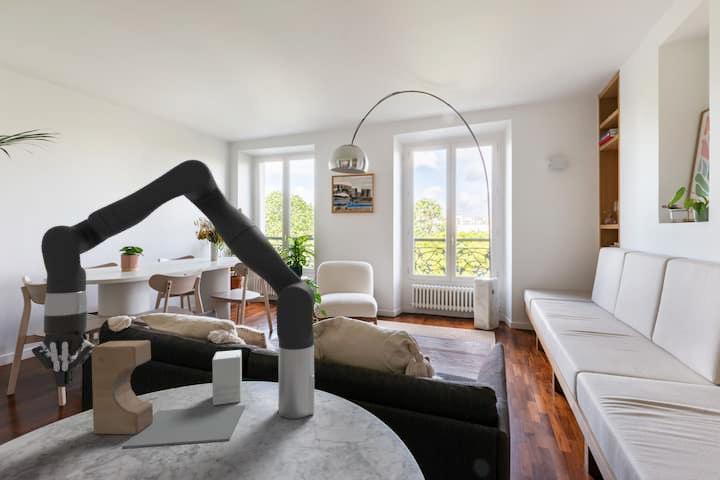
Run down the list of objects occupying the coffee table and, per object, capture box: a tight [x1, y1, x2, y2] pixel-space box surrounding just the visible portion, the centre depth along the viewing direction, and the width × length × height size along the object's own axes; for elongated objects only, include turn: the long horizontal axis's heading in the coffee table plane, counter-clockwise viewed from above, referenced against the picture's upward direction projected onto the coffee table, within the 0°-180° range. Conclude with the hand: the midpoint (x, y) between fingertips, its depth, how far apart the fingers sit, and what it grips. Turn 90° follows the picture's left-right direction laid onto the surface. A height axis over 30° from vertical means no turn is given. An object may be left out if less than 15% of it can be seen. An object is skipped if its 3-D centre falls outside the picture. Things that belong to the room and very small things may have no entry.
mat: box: [122, 404, 246, 449], centre depth 81 cm, size 22×16×1 cm
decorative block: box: [91, 339, 154, 435], centre depth 79 cm, size 11×6×20 cm, turn 84°
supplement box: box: [211, 349, 243, 406], centre depth 96 cm, size 7×7×13 cm
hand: (64, 385), depth 78 cm, fingers closed
